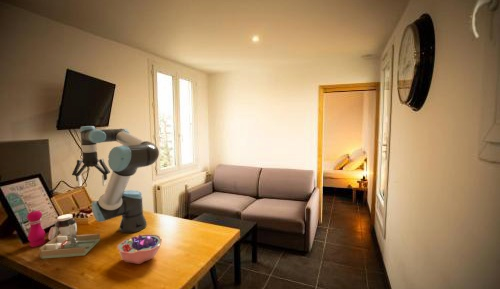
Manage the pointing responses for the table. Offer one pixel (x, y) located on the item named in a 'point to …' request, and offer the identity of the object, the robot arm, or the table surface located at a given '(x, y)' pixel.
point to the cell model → (139, 248)
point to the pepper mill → (35, 229)
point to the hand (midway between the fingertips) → (92, 185)
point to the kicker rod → (71, 236)
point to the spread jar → (61, 226)
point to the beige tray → (85, 246)
